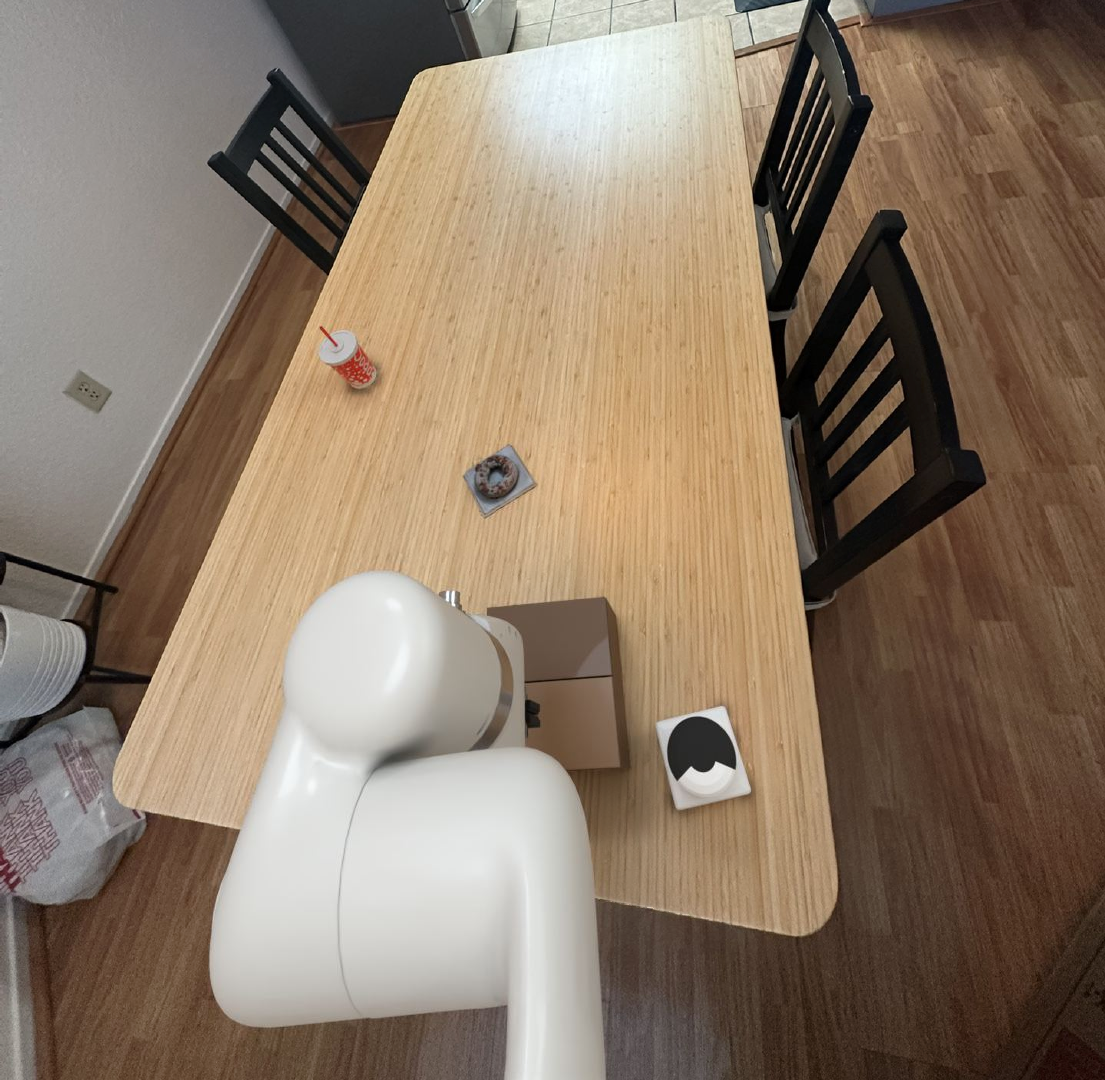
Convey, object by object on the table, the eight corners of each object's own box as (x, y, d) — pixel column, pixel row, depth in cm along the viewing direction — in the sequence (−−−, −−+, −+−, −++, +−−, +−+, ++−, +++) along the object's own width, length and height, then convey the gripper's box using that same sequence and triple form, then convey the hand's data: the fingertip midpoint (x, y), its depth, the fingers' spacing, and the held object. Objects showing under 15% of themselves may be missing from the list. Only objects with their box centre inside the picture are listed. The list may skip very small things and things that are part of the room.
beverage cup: (366, 397, 99) (323, 349, 88) (338, 386, 101) (292, 338, 90) (388, 367, 101) (348, 316, 90) (359, 356, 104) (318, 306, 93)
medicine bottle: (658, 725, 67) (650, 718, 57) (722, 710, 66) (726, 700, 57) (678, 807, 63) (674, 814, 53) (747, 790, 62) (756, 795, 53)
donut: (511, 442, 89) (508, 436, 88) (536, 485, 85) (533, 480, 83) (461, 473, 88) (456, 467, 86) (484, 518, 84) (479, 513, 82)
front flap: (620, 767, 57) (619, 767, 57) (485, 774, 59) (484, 774, 59) (612, 677, 61) (611, 676, 61) (486, 686, 63) (485, 686, 63)
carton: (630, 768, 65) (620, 768, 57) (510, 774, 67) (483, 775, 59) (616, 615, 74) (605, 595, 65) (510, 624, 75) (486, 606, 67)
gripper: (399, 563, 41) (480, 622, 55) (369, 858, 32) (474, 836, 47) (510, 552, 40) (562, 615, 54) (510, 852, 31) (572, 832, 46)
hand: (521, 717), depth 51 cm, fingers closed
